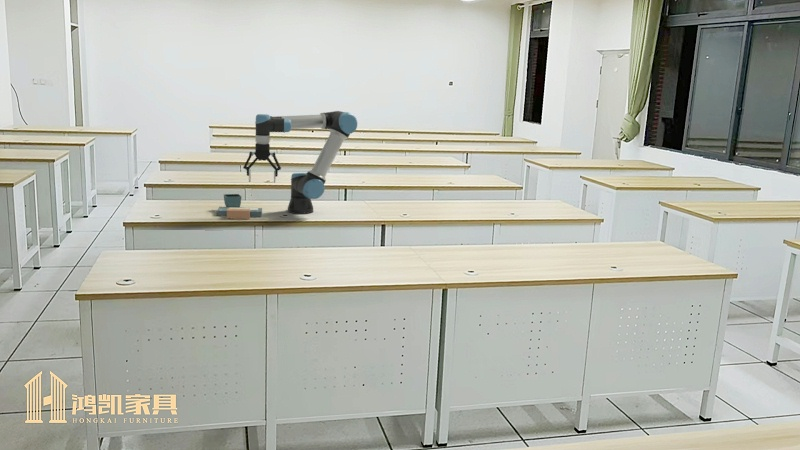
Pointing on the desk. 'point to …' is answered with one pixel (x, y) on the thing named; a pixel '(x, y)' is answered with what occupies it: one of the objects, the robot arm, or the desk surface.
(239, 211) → the pink rectangular block
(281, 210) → the desk surface
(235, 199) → the flower pot
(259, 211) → the blue-grey flat slab
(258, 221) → the desk surface
